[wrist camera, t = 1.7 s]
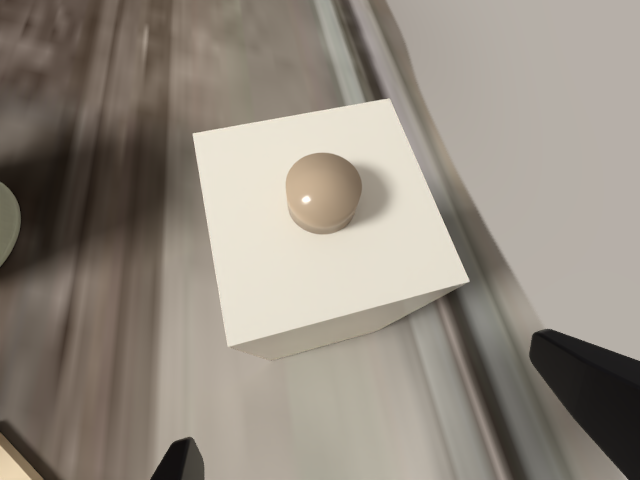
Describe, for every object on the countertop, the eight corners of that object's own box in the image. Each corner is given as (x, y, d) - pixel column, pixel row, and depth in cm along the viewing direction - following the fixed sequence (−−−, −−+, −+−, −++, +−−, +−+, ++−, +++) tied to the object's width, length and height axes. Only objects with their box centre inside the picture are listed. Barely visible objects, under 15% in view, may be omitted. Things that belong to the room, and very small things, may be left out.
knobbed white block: (376, 331, 20) (488, 271, 8) (270, 360, 19) (218, 343, 7) (345, 234, 22) (397, 73, 10) (249, 257, 21) (181, 110, 9)
